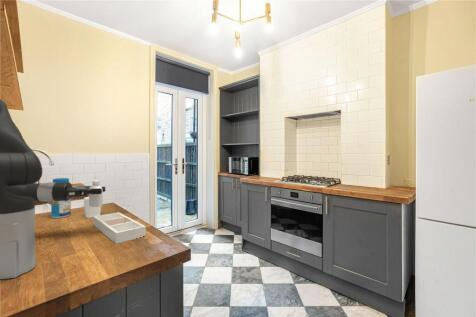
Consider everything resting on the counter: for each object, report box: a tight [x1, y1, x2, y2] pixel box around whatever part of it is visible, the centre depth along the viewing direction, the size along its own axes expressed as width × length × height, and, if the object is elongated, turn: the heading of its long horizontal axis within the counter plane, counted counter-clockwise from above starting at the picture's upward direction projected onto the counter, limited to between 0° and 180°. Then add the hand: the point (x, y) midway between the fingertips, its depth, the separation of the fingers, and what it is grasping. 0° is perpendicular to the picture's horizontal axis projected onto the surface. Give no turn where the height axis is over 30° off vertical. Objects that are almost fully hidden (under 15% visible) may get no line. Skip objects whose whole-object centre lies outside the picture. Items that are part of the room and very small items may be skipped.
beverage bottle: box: [50, 177, 72, 219], centre depth 119 cm, size 8×8×20 cm
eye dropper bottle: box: [88, 176, 104, 207], centre depth 94 cm, size 4×6×12 cm
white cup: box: [83, 196, 102, 219], centre depth 120 cm, size 8×8×10 cm
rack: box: [92, 212, 147, 245], centre depth 98 cm, size 31×11×4 cm, turn 46°
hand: (103, 190), depth 95 cm, fingers closed on eye dropper bottle, 4 cm apart
